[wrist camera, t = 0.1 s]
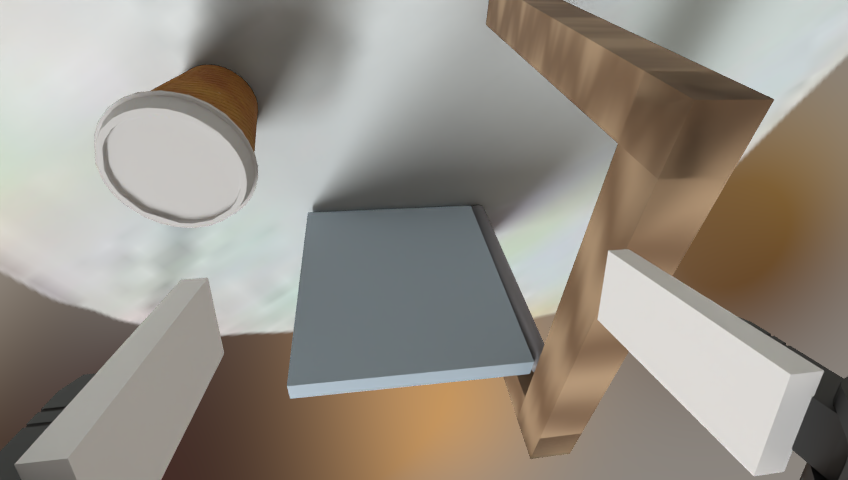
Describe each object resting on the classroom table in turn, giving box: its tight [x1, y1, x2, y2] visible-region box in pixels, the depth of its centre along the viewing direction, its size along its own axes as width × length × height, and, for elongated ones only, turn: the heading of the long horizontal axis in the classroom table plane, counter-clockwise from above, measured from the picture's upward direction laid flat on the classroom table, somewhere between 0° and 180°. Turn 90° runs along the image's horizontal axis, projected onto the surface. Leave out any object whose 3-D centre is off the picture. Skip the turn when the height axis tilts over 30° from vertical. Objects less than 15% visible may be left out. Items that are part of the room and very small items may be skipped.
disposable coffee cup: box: [94, 65, 258, 228], centre depth 31 cm, size 10×10×12 cm
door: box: [287, 205, 544, 398], centre depth 38 cm, size 19×4×20 cm, turn 87°
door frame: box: [486, 0, 774, 459], centre depth 32 cm, size 26×3×25 cm, turn 177°
